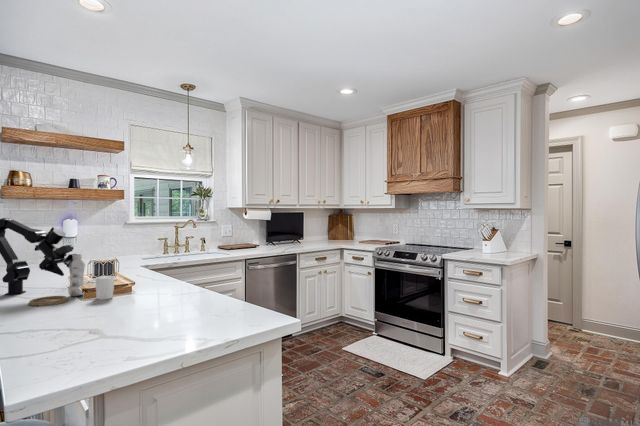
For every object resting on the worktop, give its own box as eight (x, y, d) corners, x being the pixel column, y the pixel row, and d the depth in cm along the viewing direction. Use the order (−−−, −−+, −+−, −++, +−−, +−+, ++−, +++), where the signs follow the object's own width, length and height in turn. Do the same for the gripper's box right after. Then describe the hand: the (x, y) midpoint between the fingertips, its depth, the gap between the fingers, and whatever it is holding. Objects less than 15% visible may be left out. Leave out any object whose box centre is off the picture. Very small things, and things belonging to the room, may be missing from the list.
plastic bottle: (69, 295, 181) (69, 254, 181) (85, 293, 184) (86, 253, 183) (66, 297, 175) (67, 255, 175) (83, 296, 178) (83, 255, 178)
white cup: (91, 299, 173) (91, 278, 172) (105, 295, 180) (105, 275, 180) (104, 300, 170) (104, 279, 170) (118, 296, 178) (118, 276, 178)
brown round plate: (36, 299, 171) (36, 296, 171) (72, 297, 175) (72, 294, 175) (22, 307, 157) (22, 304, 157) (61, 305, 162) (61, 301, 162)
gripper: (44, 240, 171) (66, 265, 170) (75, 238, 189) (95, 259, 188) (29, 257, 172) (50, 281, 170) (61, 253, 190) (81, 274, 189)
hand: (70, 273), depth 180 cm, fingers open, 9 cm apart
